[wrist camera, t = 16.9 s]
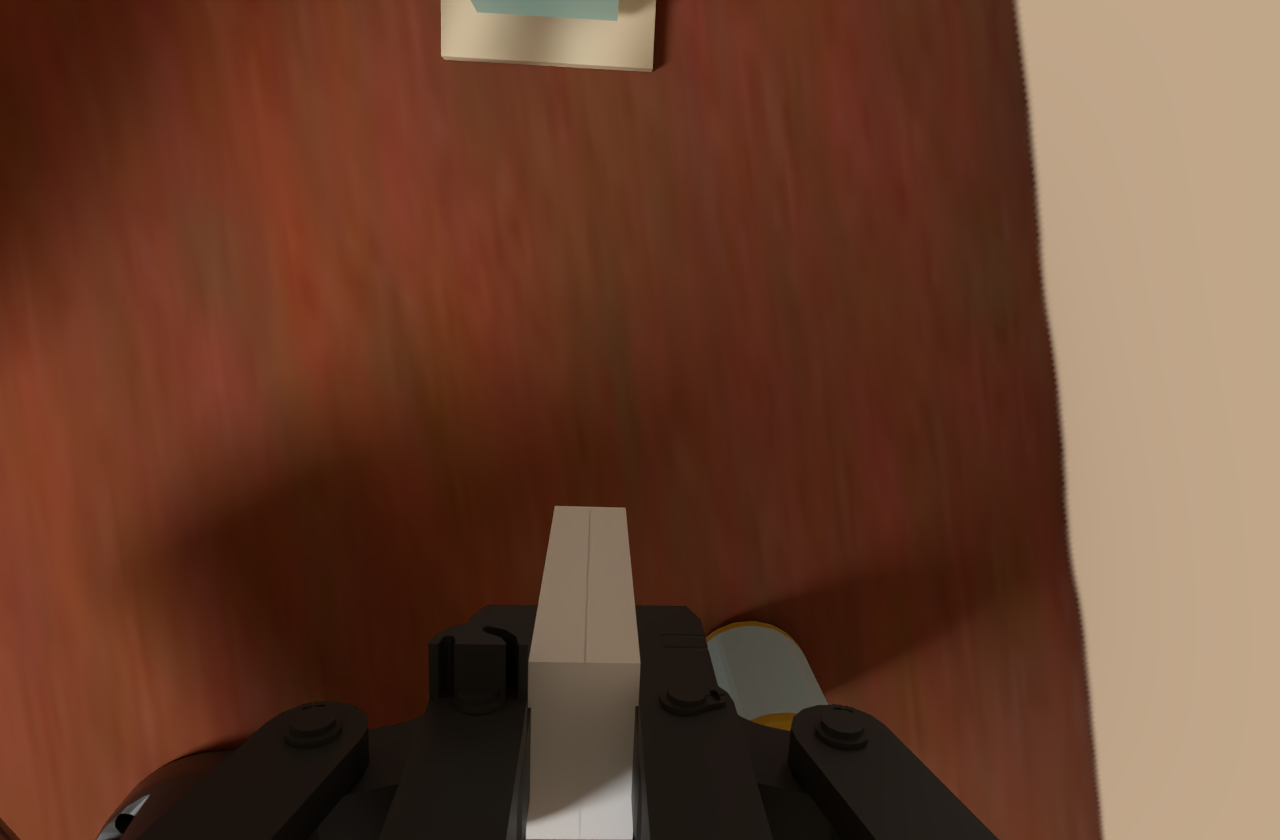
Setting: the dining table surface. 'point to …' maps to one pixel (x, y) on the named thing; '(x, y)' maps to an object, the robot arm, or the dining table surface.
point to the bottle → (763, 673)
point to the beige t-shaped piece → (550, 37)
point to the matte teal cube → (552, 8)
